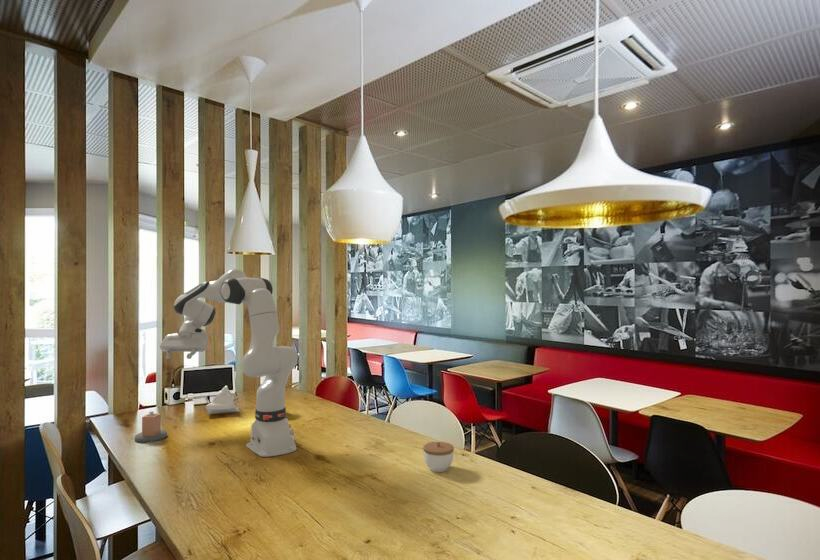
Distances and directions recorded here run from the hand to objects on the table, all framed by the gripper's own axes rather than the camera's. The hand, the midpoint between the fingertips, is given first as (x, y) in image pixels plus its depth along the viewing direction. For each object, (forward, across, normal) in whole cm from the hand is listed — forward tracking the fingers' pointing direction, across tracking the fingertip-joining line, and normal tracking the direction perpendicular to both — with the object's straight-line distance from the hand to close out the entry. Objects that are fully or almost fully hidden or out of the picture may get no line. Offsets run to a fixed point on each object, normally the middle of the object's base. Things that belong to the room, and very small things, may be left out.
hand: (178, 358), depth 207 cm
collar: (+31, -4, +11) cm, 33 cm away
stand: (+32, -4, +12) cm, 35 cm away
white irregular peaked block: (+6, +11, +39) cm, 41 cm away
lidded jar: (+56, +115, -11) cm, 129 cm away
